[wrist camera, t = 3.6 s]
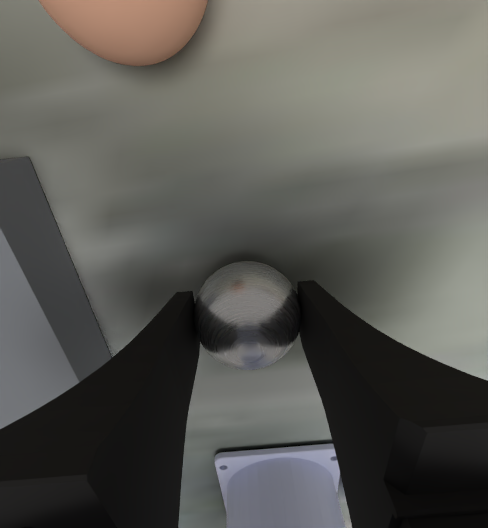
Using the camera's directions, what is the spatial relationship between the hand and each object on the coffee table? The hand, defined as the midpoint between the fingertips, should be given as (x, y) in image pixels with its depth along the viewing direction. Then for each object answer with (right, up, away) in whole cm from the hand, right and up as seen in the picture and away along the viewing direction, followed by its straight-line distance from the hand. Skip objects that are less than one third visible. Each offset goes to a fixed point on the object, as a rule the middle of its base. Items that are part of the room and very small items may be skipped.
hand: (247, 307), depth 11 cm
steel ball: (0, 0, 0) cm, 0 cm away
